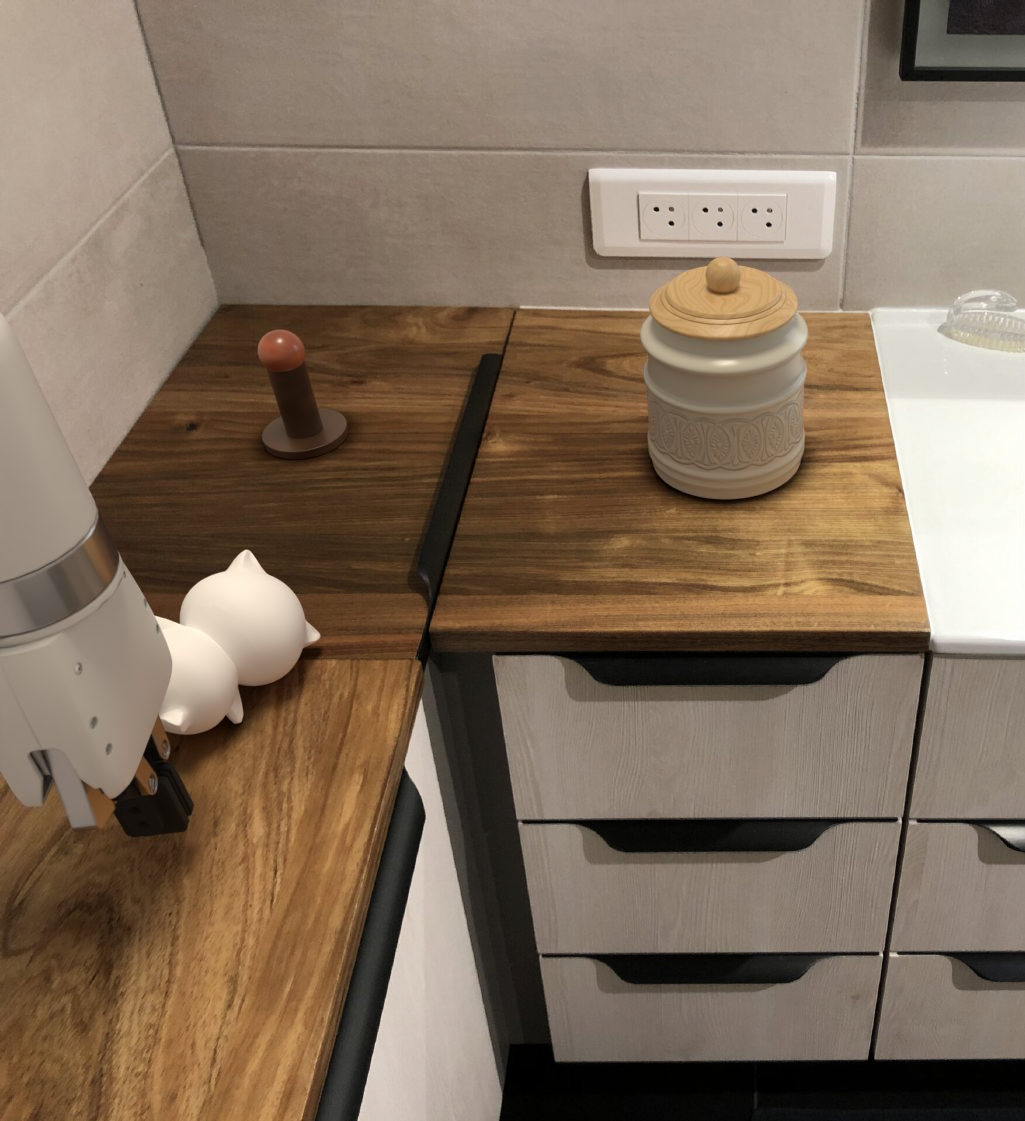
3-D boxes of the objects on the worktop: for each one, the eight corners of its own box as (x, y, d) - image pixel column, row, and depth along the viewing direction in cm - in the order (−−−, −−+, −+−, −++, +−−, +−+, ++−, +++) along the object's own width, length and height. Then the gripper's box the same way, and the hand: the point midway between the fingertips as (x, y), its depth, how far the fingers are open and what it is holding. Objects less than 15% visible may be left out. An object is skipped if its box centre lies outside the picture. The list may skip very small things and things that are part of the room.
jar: (776, 517, 88) (779, 309, 77) (624, 486, 91) (605, 283, 80) (822, 431, 97) (831, 236, 86) (683, 406, 101) (673, 215, 90)
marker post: (283, 469, 93) (248, 362, 87) (251, 434, 98) (216, 329, 91) (362, 439, 97) (334, 334, 91) (328, 407, 101) (300, 304, 95)
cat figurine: (115, 652, 63) (270, 528, 71) (48, 673, 70) (197, 558, 78) (220, 764, 66) (358, 633, 74) (147, 774, 73) (280, 653, 81)
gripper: (-2, 478, 56) (131, 729, 67) (-148, 695, 44) (43, 952, 56) (155, 465, 56) (260, 716, 68) (51, 676, 45) (199, 934, 57)
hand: (162, 822), depth 62 cm, fingers closed
